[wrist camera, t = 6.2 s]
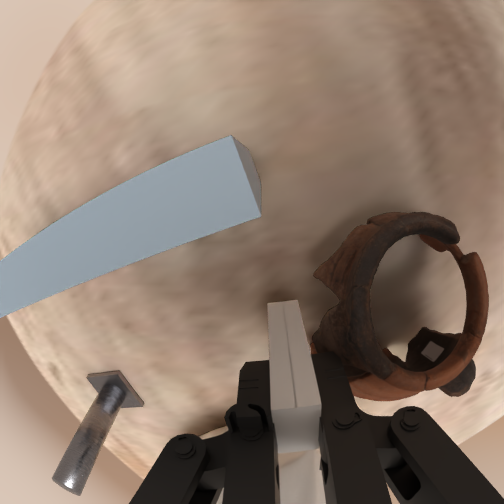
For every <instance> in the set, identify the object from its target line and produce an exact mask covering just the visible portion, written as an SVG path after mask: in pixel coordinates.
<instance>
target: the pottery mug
mask: <svg viewBox="0 0 504 504" xmlns="http://www.w3.org/2000/svg"><path fill="white" fill-rule="evenodd" d="M415 234H420V238H421V239H422V240H423V241H424V242H425V243H426V244H428V245H429V246H430V247H432V248H433V249H435V250H437V251H439V252H444V251H446V250H447V251H450V252H451V253H452V255H453V256H454V258H455V260H456V262H457V264H458V265H459V268H460V270H461V273H462V276H463V279H464V283H465V289H466V301H467V309H466V319H465V324H464V328H463V332H462V334H461V333H457V334H452V333H440V332H438V331H435V330H430V329H428V328H427V327H422V328H421V330H420V331H419V332H418V334H417V335H416V336H415V337H414V338H413V339H412V340H411V341H410V342H409V343H408V352H407V355H406V362H404V361H402V360H401V359H400V358H399V357H397V356H395V355H393V354H392V353H391V352H390V351H389V349H387V348H384V349H383V350H382V349H381V347H380V346H379V344H378V342H377V339H376V336H375V333H374V329H373V325H372V320H371V310H370V289H371V286H372V283H373V279H374V275H375V273H376V271H377V268H378V266H379V263H380V261H381V259H382V258H383V256H384V254H385V253H386V251H387V250H388V249H389V248H390V247H391V246H392V245H393V244H394V243H395V242H397V241H398V240H400V239H402V238H403V237H406V236H409V235H415ZM459 241H460V236H459V233H458V231H457V228H456V226H455V224H454V223H452V222H451V221H449V220H447V219H445V218H444V217H441V216H438V215H433V214H430V213H426V212H412V213H401V212H391V213H385V214H381V215H377V216H374V217H371V218H369V219H368V221H367V225H360V226H357V227H356V228H355V229H354V230H353V231H352V232H351V233H350V234H349V235H348V237H347V239H346V240H345V241H344V242H343V243H342V245H341V247H340V248H339V249H338V250H337V251H336V252H335V253H334V254H333V255H332V256H331V257H330V258H329V259H328V260H327V261H326V262H324V263H323V264H322V265H321V266H320V267H319V268H318V269H317V270H316V271H315V272H314V274H313V276H314V277H315V278H317V279H319V280H321V281H322V282H323V283H324V284H325V285H326V286H327V287H328V288H330V289H331V290H332V291H333V292H334V293H335V294H336V295H337V296H338V298H339V299H340V303H339V304H338V305H337V306H335V307H333V308H331V309H329V310H328V312H327V313H326V315H325V316H324V317H323V319H322V321H321V324H320V328H319V330H318V331H316V332H315V333H314V335H313V338H312V339H313V343H312V344H311V345H310V347H311V354H317V353H323V352H330V351H333V352H334V353H335V354H336V355H337V356H339V357H340V358H341V361H342V364H343V367H344V370H345V373H346V377H347V378H348V381H349V384H350V387H351V390H352V393H353V396H356V397H359V398H363V399H369V400H374V401H394V400H400V399H403V398H407V397H411V396H413V395H416V394H418V393H419V392H422V391H424V390H426V391H427V390H433V389H436V388H439V389H440V390H442V391H443V392H444V393H445V394H447V395H449V396H451V397H453V396H456V397H459V396H461V395H463V394H465V393H466V392H467V391H469V389H470V386H471V384H472V382H473V381H474V379H475V374H476V367H475V364H474V361H473V359H472V358H473V356H474V355H475V353H476V351H477V349H478V347H479V345H480V343H481V341H482V337H483V334H484V332H485V326H486V323H487V316H488V307H489V294H488V284H487V279H486V274H485V271H484V267H483V264H482V262H481V259H480V257H479V255H478V254H477V253H476V252H472V253H469V254H467V255H464V254H463V253H462V252H461V250H460V249H459V247H458V246H457V245H456V244H457V243H458V242H459Z"/></svg>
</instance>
